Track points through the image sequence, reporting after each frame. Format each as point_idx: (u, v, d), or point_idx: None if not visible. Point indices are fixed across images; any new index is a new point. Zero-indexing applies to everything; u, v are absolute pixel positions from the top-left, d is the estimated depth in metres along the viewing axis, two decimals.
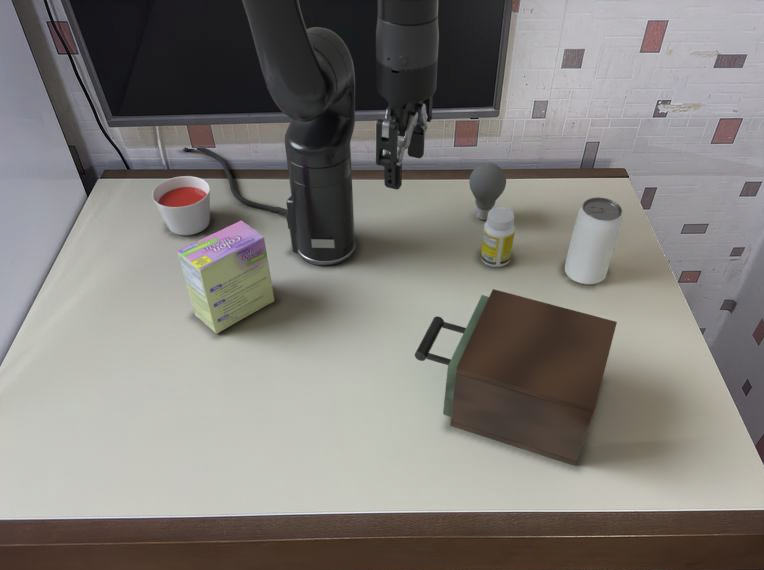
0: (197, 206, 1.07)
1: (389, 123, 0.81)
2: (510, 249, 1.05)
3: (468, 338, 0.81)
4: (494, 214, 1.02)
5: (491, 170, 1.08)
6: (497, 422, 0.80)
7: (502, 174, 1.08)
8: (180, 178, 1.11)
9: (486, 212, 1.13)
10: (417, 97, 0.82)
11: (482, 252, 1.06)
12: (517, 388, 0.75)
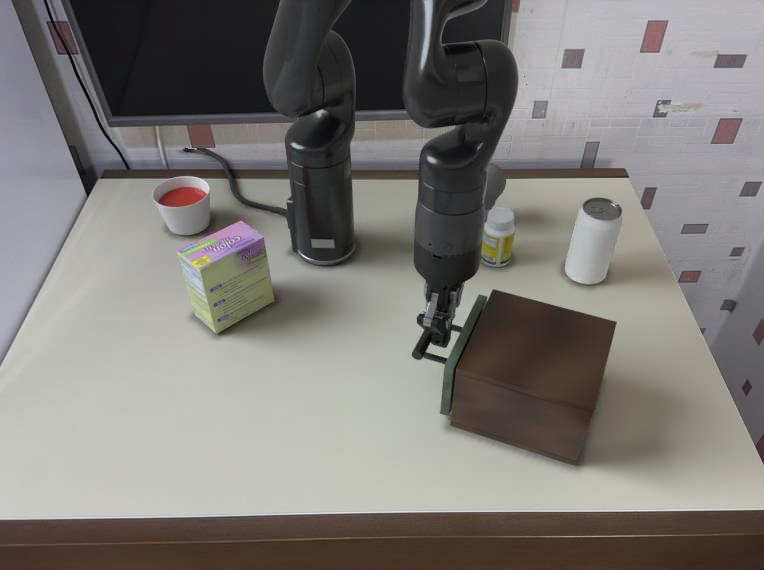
0: (197, 206, 1.07)
1: (430, 323, 0.75)
2: (510, 249, 1.05)
3: (465, 337, 0.81)
4: (494, 214, 1.02)
5: (491, 170, 1.08)
6: (497, 422, 0.80)
7: (502, 174, 1.08)
8: (180, 178, 1.11)
9: (486, 212, 1.13)
10: (461, 279, 0.74)
11: (482, 252, 1.06)
12: (517, 388, 0.75)
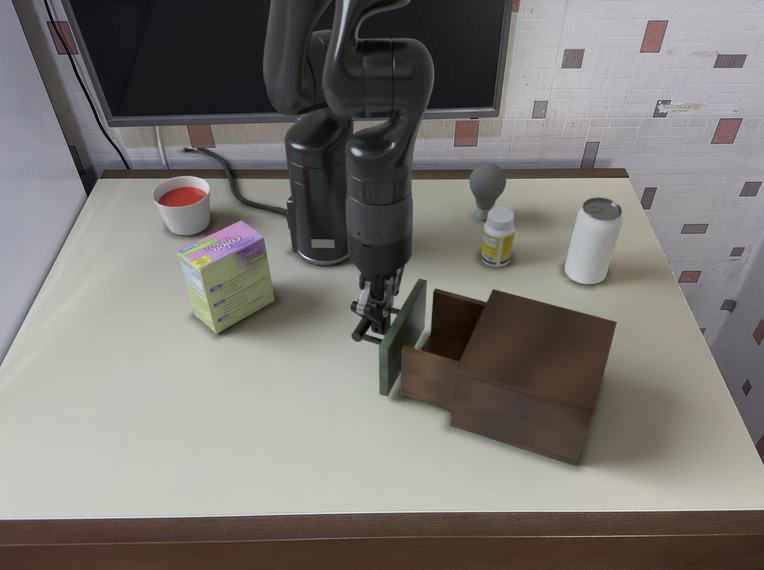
0: (197, 206, 1.07)
1: (363, 310, 0.78)
2: (510, 249, 1.05)
3: (401, 319, 0.83)
4: (494, 214, 1.02)
5: (491, 170, 1.08)
6: (497, 422, 0.80)
7: (502, 174, 1.08)
8: (180, 178, 1.11)
9: (486, 212, 1.13)
10: (391, 267, 0.76)
11: (482, 252, 1.06)
12: (517, 388, 0.75)
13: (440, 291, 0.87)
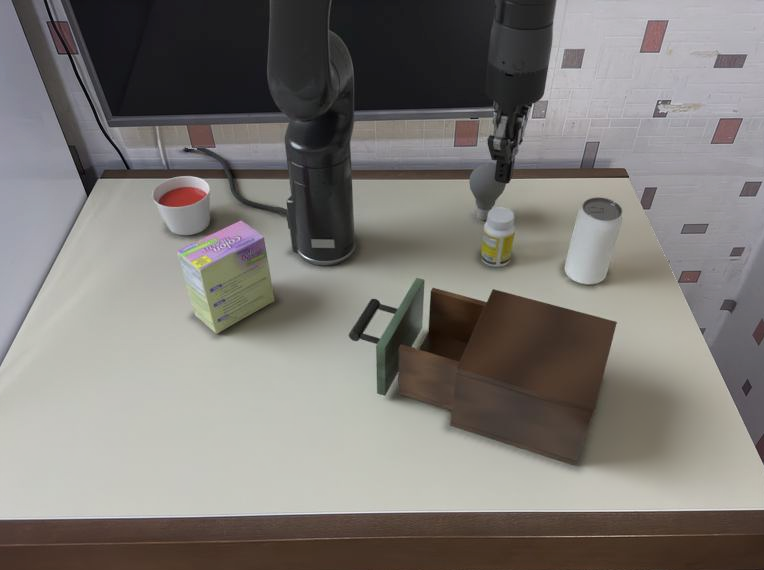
0: (197, 206, 1.07)
1: (500, 142, 0.85)
2: (510, 249, 1.05)
3: (399, 318, 0.83)
4: (494, 214, 1.02)
5: (491, 170, 1.08)
6: (497, 422, 0.80)
7: None
8: (180, 178, 1.11)
9: (486, 212, 1.13)
10: (528, 99, 0.83)
11: (482, 252, 1.06)
12: (517, 388, 0.75)
13: (438, 290, 0.88)
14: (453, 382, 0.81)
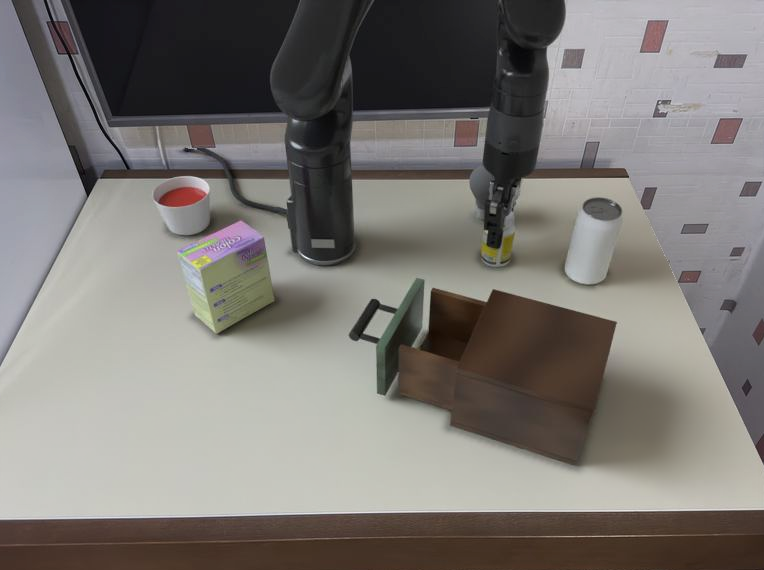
0: (197, 206, 1.07)
1: (497, 204, 0.93)
2: (510, 249, 1.05)
3: (399, 318, 0.83)
4: None
5: None
6: (497, 422, 0.80)
7: None
8: (180, 178, 1.11)
9: None
10: (522, 174, 0.93)
11: (482, 252, 1.06)
12: (517, 388, 0.75)
13: (438, 290, 0.88)
14: (453, 382, 0.81)
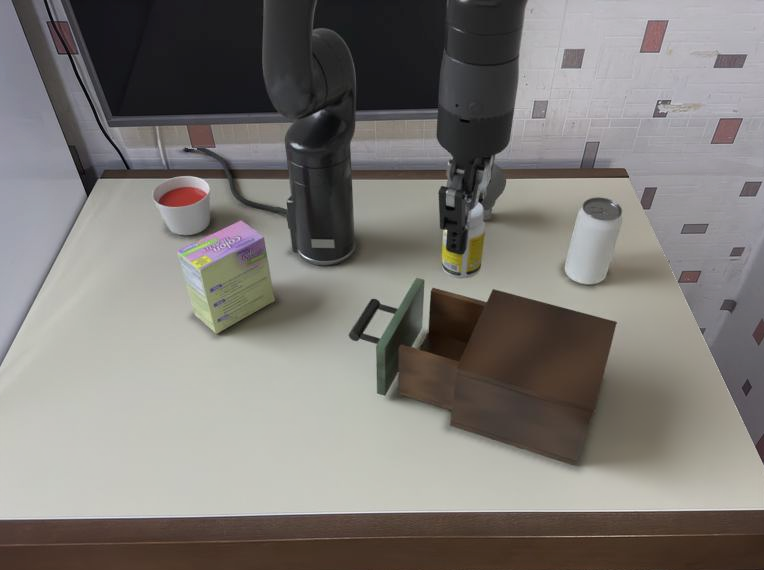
0: (197, 206, 1.07)
1: (455, 193, 0.66)
2: (479, 255, 0.78)
3: (399, 318, 0.83)
4: None
5: None
6: (497, 422, 0.80)
7: (502, 174, 1.08)
8: (180, 178, 1.11)
9: (486, 212, 1.13)
10: (490, 150, 0.66)
11: (443, 259, 0.79)
12: (517, 388, 0.75)
13: (438, 290, 0.88)
14: (453, 382, 0.81)
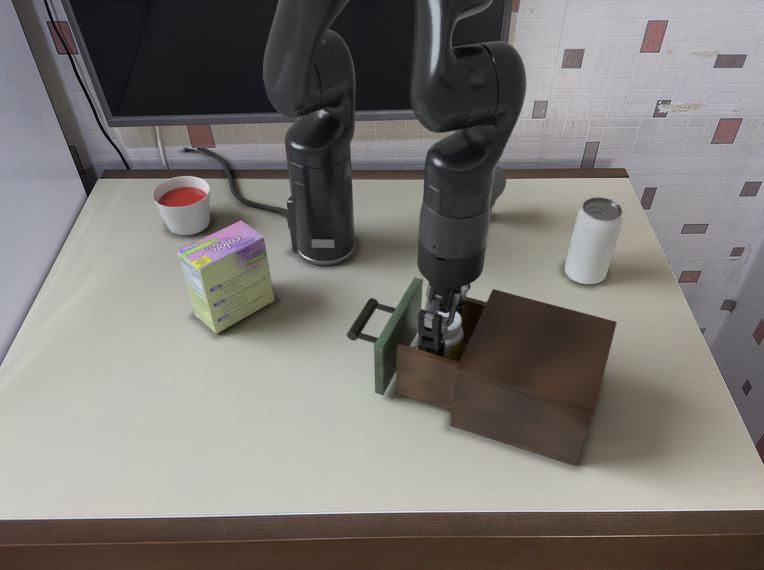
0: (197, 206, 1.07)
1: (433, 317, 0.74)
2: (459, 357, 0.86)
3: (397, 318, 0.83)
4: None
5: None
6: (497, 422, 0.80)
7: (502, 174, 1.08)
8: (180, 178, 1.11)
9: None
10: (464, 281, 0.74)
11: None
12: (517, 388, 0.75)
13: None
14: (451, 381, 0.81)
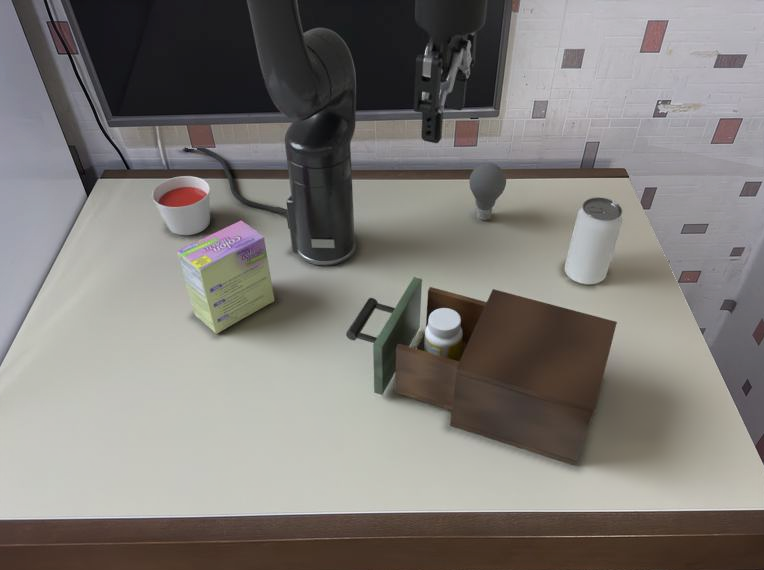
0: (197, 206, 1.07)
1: (432, 58, 0.69)
2: (458, 357, 0.86)
3: (396, 317, 0.84)
4: (436, 318, 0.83)
5: (491, 170, 1.08)
6: (497, 422, 0.80)
7: (502, 174, 1.08)
8: (180, 178, 1.11)
9: (486, 212, 1.13)
10: (465, 28, 0.69)
11: None
12: (517, 388, 0.75)
13: (435, 290, 0.88)
14: (450, 381, 0.81)
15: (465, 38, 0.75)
